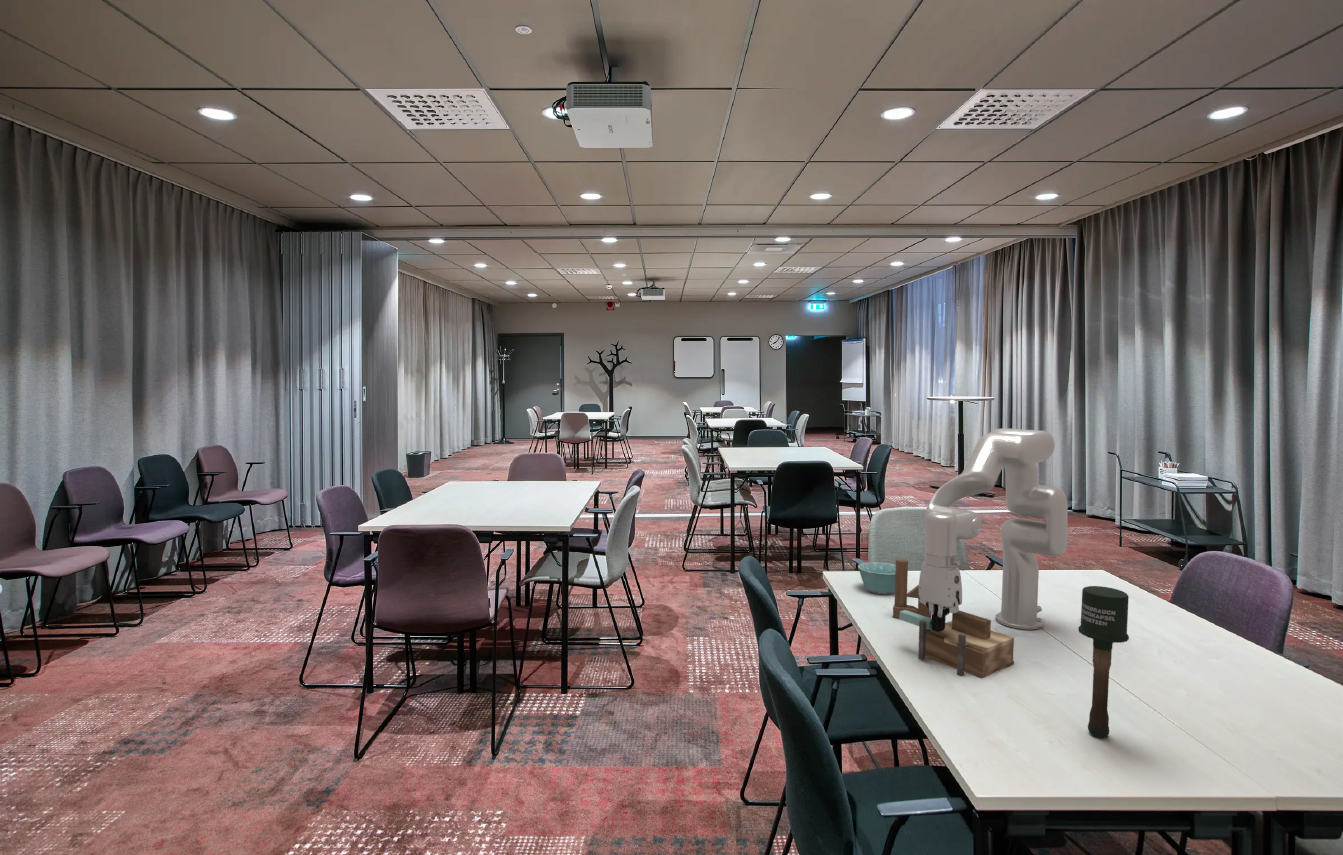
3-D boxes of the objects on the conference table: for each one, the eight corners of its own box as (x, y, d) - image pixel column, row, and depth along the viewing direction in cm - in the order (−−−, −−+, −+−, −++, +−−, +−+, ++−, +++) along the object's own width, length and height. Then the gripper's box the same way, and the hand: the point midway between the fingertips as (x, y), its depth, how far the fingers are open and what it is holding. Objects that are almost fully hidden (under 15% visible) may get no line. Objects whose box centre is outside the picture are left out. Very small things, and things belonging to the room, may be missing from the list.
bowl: (854, 583, 239) (855, 560, 238) (899, 585, 237) (900, 562, 236) (861, 596, 224) (861, 572, 223) (909, 599, 221) (910, 574, 221)
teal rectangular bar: (905, 617, 181) (905, 609, 181) (934, 627, 174) (934, 619, 174) (899, 619, 180) (899, 611, 180) (928, 629, 173) (929, 621, 172)
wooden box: (956, 643, 183) (957, 607, 183) (1014, 663, 170) (1015, 625, 170) (916, 658, 173) (918, 620, 173) (974, 681, 160) (976, 640, 159)
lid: (956, 627, 183) (957, 603, 182) (1013, 646, 170) (1014, 620, 169) (922, 639, 174) (923, 613, 174) (980, 660, 161) (981, 632, 161)
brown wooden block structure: (930, 623, 199) (931, 564, 197) (892, 618, 203) (894, 560, 202) (931, 619, 202) (933, 561, 201) (894, 614, 207) (895, 557, 205)
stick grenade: (1064, 725, 140) (1070, 585, 138) (1102, 723, 140) (1109, 584, 138) (1093, 746, 131) (1100, 598, 129) (1134, 745, 132) (1141, 597, 130)
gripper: (975, 564, 166) (973, 636, 168) (923, 552, 179) (921, 618, 180) (958, 569, 162) (956, 642, 163) (906, 556, 174) (904, 624, 176)
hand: (938, 629), depth 172 cm, fingers closed
